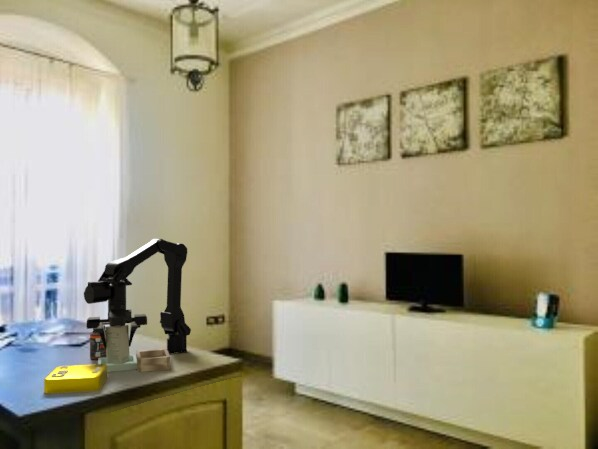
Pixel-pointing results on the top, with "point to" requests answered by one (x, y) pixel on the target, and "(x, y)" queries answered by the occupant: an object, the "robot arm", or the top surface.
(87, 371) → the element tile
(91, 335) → the supplement bottle
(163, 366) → the frame
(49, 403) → the top surface
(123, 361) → the skincare box
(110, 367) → the tray
